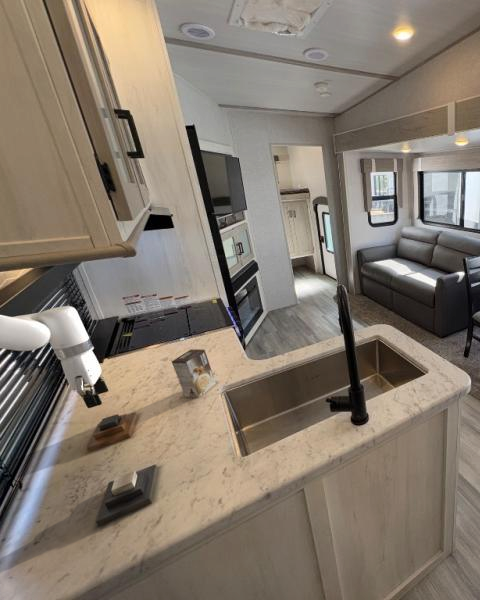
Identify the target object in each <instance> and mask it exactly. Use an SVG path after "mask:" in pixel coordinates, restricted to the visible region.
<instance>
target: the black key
mask: <svg viewBox="0 0 480 600" xmlns="http://www.w3.org/2000/svg"><path fill="white" fill-rule="evenodd" d="M119 416H120V415H119V413H117V414H113V415H110V416H107V417H104V418H102V419H101V420H100V422H101V423H100V425H99V427H100V429H101V431H102V430H105V429H109V428H112V427H115V426H118V424H119V421H120V417H119Z"/></svg>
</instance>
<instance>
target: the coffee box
mask: <svg viewBox="0 0 480 600" xmlns="http://www.w3.org/2000/svg"><path fill="white" fill-rule="evenodd" d="M171 364H172V367H173V369H174V372H175V374H176V378H177V379H178V382H179V385H180V387H181V390H182V393H183V395H184V397H185V398H200V397H201V396H203V395H204V394H205V393H207V392H208V391H209V390H210V389H211V388H213V386H215V385H216V384H217V381H216V380H215V376H214V373H213V370H212V367H211V364H210V361H209V359H208V355H207V353H206V349H197V348H196V349H195V348H194V349H189V350H187V351H186V352H184V353H182V355H181V354H180V356H178V357H176V358H175V359H173V360H172V361H171Z"/></svg>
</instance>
